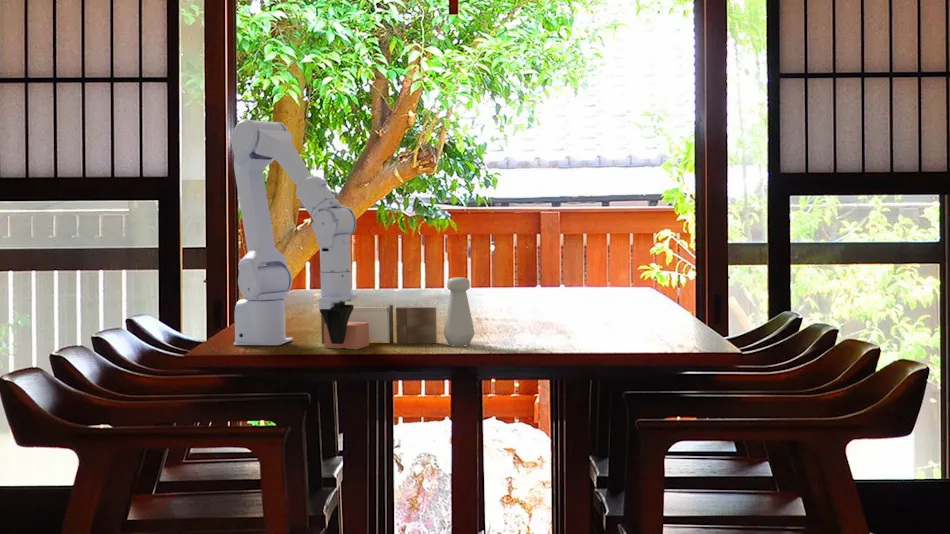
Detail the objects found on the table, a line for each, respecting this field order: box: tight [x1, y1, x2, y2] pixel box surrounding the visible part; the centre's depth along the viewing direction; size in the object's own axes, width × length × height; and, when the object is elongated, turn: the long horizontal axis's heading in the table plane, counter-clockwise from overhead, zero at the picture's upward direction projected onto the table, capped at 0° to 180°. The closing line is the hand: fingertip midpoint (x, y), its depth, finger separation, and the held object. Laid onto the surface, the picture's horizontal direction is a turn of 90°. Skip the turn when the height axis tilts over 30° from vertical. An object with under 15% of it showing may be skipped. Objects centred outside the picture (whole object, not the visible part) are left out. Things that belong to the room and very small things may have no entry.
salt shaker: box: [443, 276, 475, 347], centre depth 180 cm, size 6×6×13 cm
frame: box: [320, 304, 438, 345], centre depth 185 cm, size 23×2×8 cm, turn 81°
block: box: [323, 322, 370, 350], centre depth 181 cm, size 7×5×4 cm
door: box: [348, 306, 390, 343], centre depth 186 cm, size 11×1×7 cm, turn 81°
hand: (337, 343), depth 177 cm, fingers closed
